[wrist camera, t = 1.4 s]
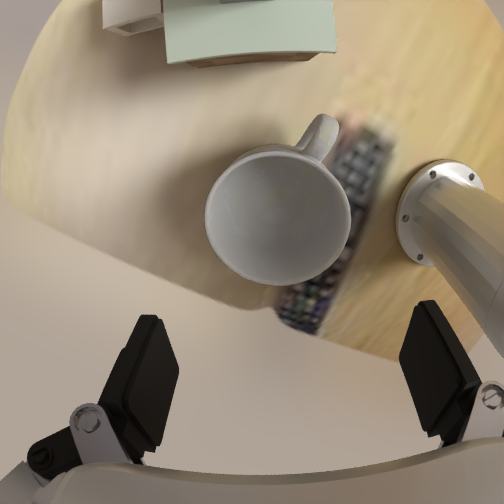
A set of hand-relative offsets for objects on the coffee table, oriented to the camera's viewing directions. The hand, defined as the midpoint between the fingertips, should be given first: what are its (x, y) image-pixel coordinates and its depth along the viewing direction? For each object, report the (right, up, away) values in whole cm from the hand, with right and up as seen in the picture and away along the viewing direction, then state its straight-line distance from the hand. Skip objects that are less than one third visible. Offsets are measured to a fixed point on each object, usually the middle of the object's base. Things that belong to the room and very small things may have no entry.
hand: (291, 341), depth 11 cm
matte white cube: (-11, +26, +9) cm, 30 cm away
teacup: (+2, +10, +18) cm, 20 cm away
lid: (-2, +20, +3) cm, 20 cm away
